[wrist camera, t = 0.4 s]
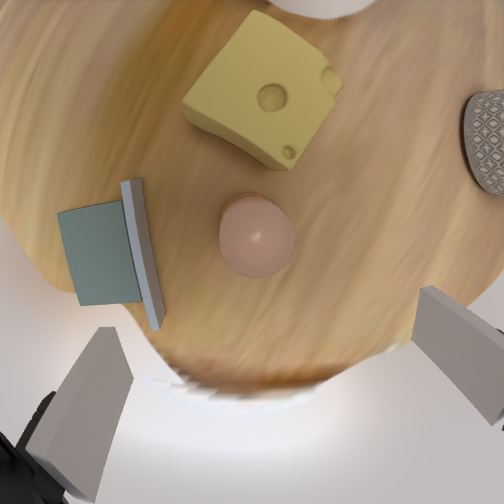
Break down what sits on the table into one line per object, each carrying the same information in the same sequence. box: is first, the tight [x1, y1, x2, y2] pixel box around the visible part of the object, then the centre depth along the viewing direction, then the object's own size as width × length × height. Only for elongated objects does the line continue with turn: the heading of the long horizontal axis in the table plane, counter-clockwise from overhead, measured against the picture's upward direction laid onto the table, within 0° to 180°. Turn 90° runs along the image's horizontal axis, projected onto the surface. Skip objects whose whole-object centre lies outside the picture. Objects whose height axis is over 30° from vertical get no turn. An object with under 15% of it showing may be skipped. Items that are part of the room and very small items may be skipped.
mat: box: [57, 200, 143, 306], centre depth 30 cm, size 12×9×1 cm
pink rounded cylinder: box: [219, 192, 296, 278], centre depth 26 cm, size 6×6×9 cm
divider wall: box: [120, 178, 166, 330], centre depth 29 cm, size 16×1×4 cm, turn 5°
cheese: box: [182, 10, 343, 171], centre depth 23 cm, size 10×11×10 cm
